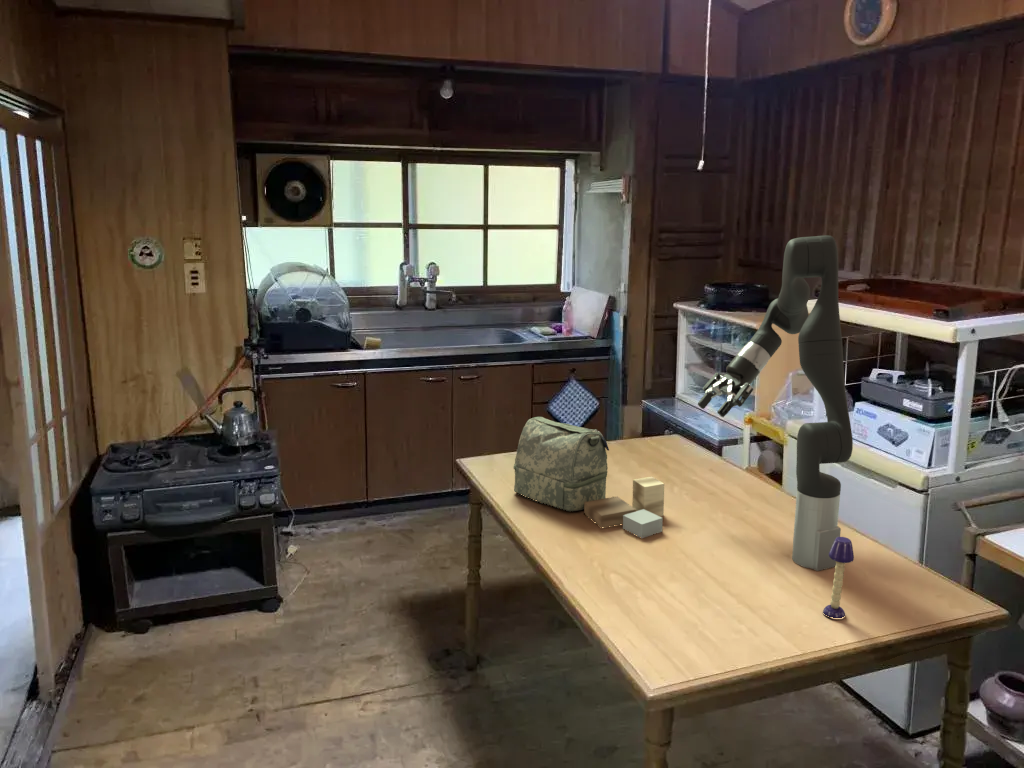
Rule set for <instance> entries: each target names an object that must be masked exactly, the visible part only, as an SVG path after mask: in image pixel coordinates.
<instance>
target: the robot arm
mask: <svg viewBox="0 0 1024 768" xmlns="http://www.w3.org/2000/svg"><path fill="white" fill-rule="evenodd" d="M781 275H782V277H781V287H780V292H779V294H778V296H777V297H778V298H775V299H774V300H772V301H771V302H770V304H769V305H768V307H767V309H766V312H765V315H764V318H763V320H762V322H761V324H760V325H759V327H758V329H757V330H756V332H755V333H754V335H752V337H751V338H750V339H749V340H748V342H747V343H746V344H745V345H744V346H743V347H741V349H740V350H738V351H739V352H738V353H737V354H736V355H735V356H734V357H733V358H732V360H731V361H730V363H728V365H727V366H726V373H725V374H724V375H721V374H720V373H718V372H715V373H714V374H713V376H711V377H710V379H709V380H708V381H707V382H706V384H704V386H703V387H702V390H703V391H704V394H703V396H702V397H701V398H700V400H698V403H697V406H698V407H699V408H700V409H702V410H704V409H705V408H706V407H707V406H708V405H709V403H710V402H711V401H712V400H713V398H715V397H717V396H722V395H726V396H727V399H726V400H725V401H724V402H723V403H722V405H721V406H720V408H719V409H718V410H717V415H719V416H720V417H722V418H724V417H725V416H727V414H728V413H729V412H730V411H731V410H732V409H733V408H735V407H736V406H737V407H742V406H743V405H744V403H745V401H747V399H748V398H749V397H750V395H751V394H752V392H753V391H754V388H753V386H752V385H751V384H752V383H753V382H754V380H755V379H757V377H758V376H759V374H760V373H762V371H763V369H764V368H765V367H766V366H767V364H768V362H769V361H770V359H771V358H772V357H773V356H774V354H775V353H776V352H777V351H778V349H779V348H780V347H781V345H782V343H783V341H782V337H780V335H779V334H778V333H777V332H776V331H775V329H774V328H773V325H775V326H776V327H778V329H781V330H783V331H784V332H785V333H787V334H790V335H797V334H798V337H797V338H798V339H797V341H798V354H799V355H798V356H799V357H798V358H799V365H800V367H801V369H802V371H803V373H804V375H805V377H807V379H808V381H809V382H810V384H811V385H813V387H814V388H815V390H816V392H818V394H819V396H820V398H821V400H822V402H823V405H824V408H825V413H826V418H827V421H825V422H824V421H823V422H819V421H818V422H806V423H804V424H801V426H800V427H799V430H798V431H797V437H796V467H795V468H796V469H795V473H796V481H797V483H796V496H795V497H796V498H795V499H796V500H795V510H794V511H795V512H794V513H795V514H794V526H793V527H794V528H793V537H792V538H793V541H792V553H791V558H792V561H793V562H794V563H795V564H796V565H799V566H801V567H803V568H808V569H811V570H815V571H816V572H819V571H823V569H824V570H827V568H828V569H831V567H832V568H835V567H834V566H836V561H834V560H832V559H831V558H830V557H829V552H830V549H831V547H832V545H833V543H834V540H835V539H836V538H837V537H841V533H842V532H841V530H842V529H841V527H840V526H838V525H839V524H838V523H839V512H840V511H839V510H840V501H841V500H840V499H841V488H842V483H841V481H840V480H839V479H838V478H837V477H835V476H833V475H831V474H829V473H825V472H821V469H820V466H821V465H822V464H824V465H825V464H841V463H842V464H843V463H845V462H848V461H849V460H850V458H851V456H852V453H853V446H854V445H853V444H854V442H853V441H854V440H853V433H852V431H853V430H852V425H851V418H850V413H849V407H848V400H847V394H846V385H845V371H844V370H845V368H844V351H843V350H844V348H843V347H844V346H843V336H842V326H841V317H840V316H841V315H840V307H839V305H840V303H839V252H838V245H837V241H836V239H835V237H834V236H832V235H817V236H813V235H812V236H802V237H796V238H792V239H790V240H789V241H788V242H787V244H786V246H785V249H784V253H783V264H782V274H781ZM810 278H820V279H821V284H820V291H819V294H818V297H817V299H816V301H815V303H814V306H813V307H812V310H811V311H810V313H809V309H808V301H809V300H810V297H811V289H810V286H809V283H808V282H807V281H806V279H810ZM820 464H821V465H820Z"/></svg>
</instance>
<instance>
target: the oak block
mask: <svg viewBox="0 0 1024 768" xmlns="http://www.w3.org/2000/svg"><path fill="white" fill-rule="evenodd" d="M631 506H632V507H633V508H635V509H636V511H639V510H642V509H645V510H647V511H649V512H651V513H653V514H655V515H657V516H660V517H663V516H664V511H665V509H664V507H665V483H663V482H662V481H660V480H659V479H658V478H655V477H654V476H647V477H641V478H635V479H632V505H631Z"/></svg>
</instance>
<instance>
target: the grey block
mask: <svg viewBox="0 0 1024 768" xmlns="http://www.w3.org/2000/svg"><path fill="white" fill-rule="evenodd" d="M624 529H625V530H624ZM622 530H624V531H626V530H627V532H628V531H629V532H628V533H630V532H631V533H630V534H632V533H633V534H632V535H634V534H635V535H634V536H636V535H637V536H636V537H637V538H640V537H641V538H640V539H644V538H647V537H651V536H653V534H654V535H657V534H659V533H661V532H663V516H657V515H655V514H653V513H651V512H649V511H647V510H645V509H642V510H639V511H636V512H632V513H629V514H626V515H623V525H622ZM656 533H657V534H656Z"/></svg>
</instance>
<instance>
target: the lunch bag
mask: <svg viewBox="0 0 1024 768" xmlns="http://www.w3.org/2000/svg"><path fill="white" fill-rule="evenodd" d="M520 433H521V434H520V437H519V440H518V446H517V449H516V454H515V455H516V456H515V458H514V464H513V470H514V487H513V490H514V493H515V492H517V493H519V494H522V495H524V496H526V497H529V498H532V499H534V500H537V501H538V502H541V503H540V504H543V503H544V504H543V505H546V504H547V505H546V506H549V505H551V506H550V507H552V506H554V507H553V508H556V507H557V509H559V508H560V510H562V509H563V510H562V511H565V510H566V512H571V511H572V512H576V511H583V510H584V502H587V501H593V500H599V499H605V498H607V497H606V492H607V491H606V490H607V477H608V454H607V451H610V449H609V446H608V443H607V440H606V439H605V438H604V437H605V436H603V434H602V432H601V431H600V430H598V429H596V428H595V429H591V428H586V427H581V426H578V425H573V424H570V423H562V422H557V421H554V420H550V419H548V418H545V417H543V416H535V417H532V418H529V419H528V420H527V421H526V423H525V425H524V426H523V428H522V431H521V432H520ZM517 493H516V494H517ZM519 494H518V495H519ZM526 497H525V498H526ZM534 500H533V501H534ZM538 502H537V503H538Z"/></svg>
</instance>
